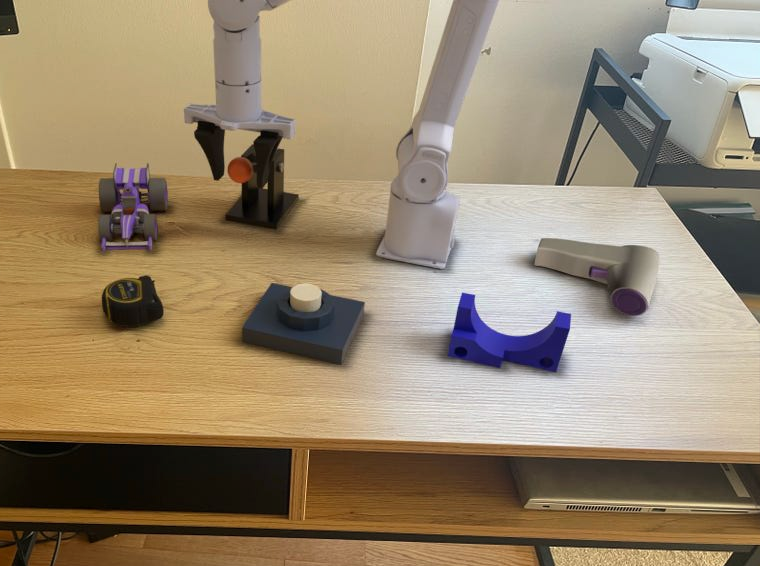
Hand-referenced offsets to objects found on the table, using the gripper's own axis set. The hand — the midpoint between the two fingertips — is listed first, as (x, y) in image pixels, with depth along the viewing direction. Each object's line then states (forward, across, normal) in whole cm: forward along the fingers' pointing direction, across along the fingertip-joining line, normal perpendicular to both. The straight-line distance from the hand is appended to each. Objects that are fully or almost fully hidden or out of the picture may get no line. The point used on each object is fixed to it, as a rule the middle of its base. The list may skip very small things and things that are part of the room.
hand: (240, 181), depth 99 cm
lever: (+1, 0, +4) cm, 4 cm away
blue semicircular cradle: (+9, +38, -14) cm, 42 cm away
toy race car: (+9, -16, -2) cm, 18 cm away
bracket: (+9, 0, +9) cm, 12 cm away
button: (+5, +15, -17) cm, 24 cm away
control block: (+9, +15, -17) cm, 25 cm away
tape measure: (+9, -5, -21) cm, 24 cm away
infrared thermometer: (+9, +47, +5) cm, 48 cm away
